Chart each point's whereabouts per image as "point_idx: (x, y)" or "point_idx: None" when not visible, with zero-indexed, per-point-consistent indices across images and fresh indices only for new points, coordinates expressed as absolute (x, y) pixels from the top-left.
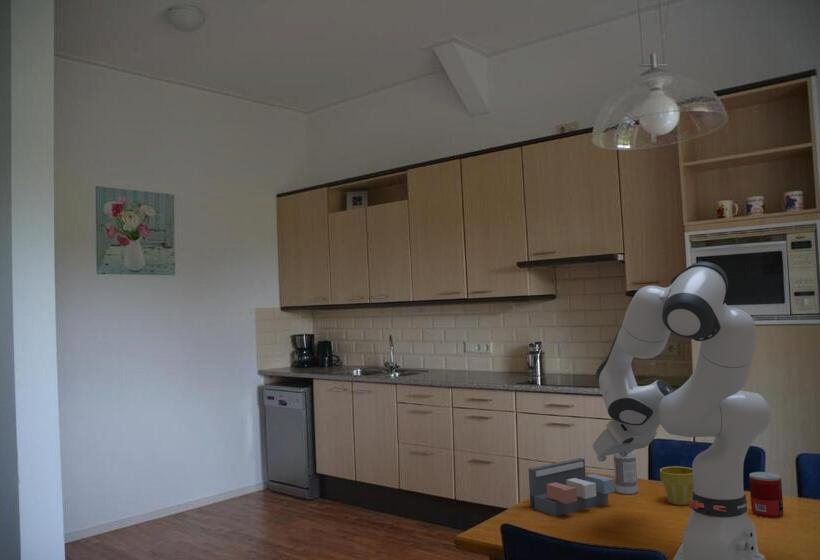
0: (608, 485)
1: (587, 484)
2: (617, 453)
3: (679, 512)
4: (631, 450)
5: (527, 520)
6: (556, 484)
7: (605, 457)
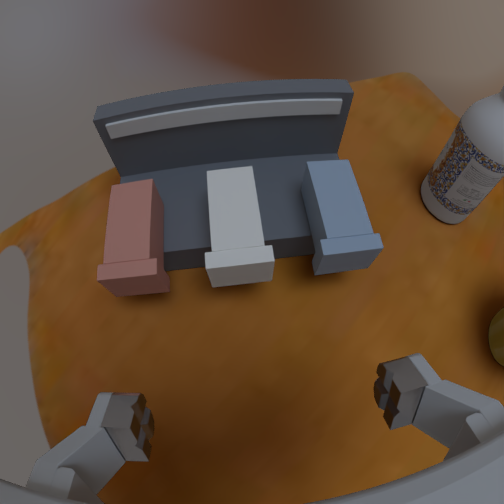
0: (343, 261)
1: (229, 259)
2: (474, 125)
3: None
4: (449, 444)
5: (60, 260)
6: (132, 202)
7: (139, 455)
